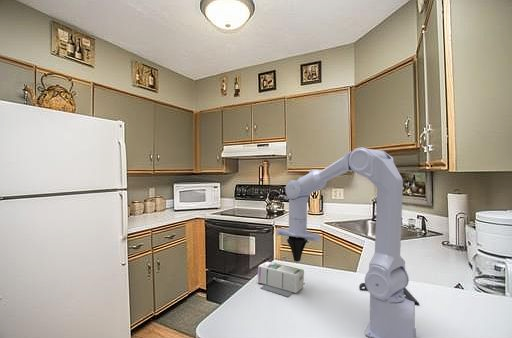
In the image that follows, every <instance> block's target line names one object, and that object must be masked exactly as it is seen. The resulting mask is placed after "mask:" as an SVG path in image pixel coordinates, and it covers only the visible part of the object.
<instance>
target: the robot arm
mask: <svg viewBox="0 0 512 338" xmlns="http://www.w3.org/2000/svg"><path fill="white" fill-rule="evenodd" d="M394 162H395V161H394V157H393V156H391V155H390V154H388V153H387V152H386V151H384V150H382V149H372V148H366V147H357V148H355V149H353V150H352V151H348V152H346V153H345V154H344V156H343V157H341V158H339V159H338V160H336V161H334V162H332V163H331V164H330V165H328V166H326V167H325V168H323V169H322V170H319V169H310V170H309V171H308V173H307V174H305V175H304V176H299V177H298V179H297V180H293V179H291V180H289V181H288V182H287V183H286V185H285V188H284V190H285V191H284V192H285V195H286V196H287V198H288V228H280V227H278V228H276V236H283V237H288V238H287V239H286V241H287V244H288V246H289V248H290V251H291V254H292V258H293V262H296V263H298V262H300V261H301V260H302V254H303V251H304V249H305V247H306V245H307V242H308V241H314V242H317V243H319V242H320V241H321V234H318V233H314V232H310V231H308V224H307V223H308V202H309V198H310V196H311V194H313V193H315V192H317V191H319V190H321V189H323V188H325V187H326V186H327V183H328V181H330V180H332V179H334V178H336V177H339V176H341V175H344V174H345V173H348V172H351V171H352V172H353V173H355V174H358V175H360V176H362V177H365V178H366V179H368V180H369V181H370V182H371V183H372V185H374V186H375V187H376V207H375V208H376V209H375V210H376V213H375V234H374V235H375V237H374V238H375V239H374V241H375V242H374V254H373V255H372V258H371V260H370V261H369V263H368V264H369V265H368V271H367V272H366V273H365V277H364V283H365V285H366V288H367V290H368V291H367V292H368V293H369V323H368V325H367V327H366V330H365V333H364V336H367V337H368V338H369V337H370V338H416V337H417V328H416V327H415V326H416V303H415V302H413V301H410V300H408V299H406V298H404V296H405V295H404V293H403V289H404V288H407V286H408V285H409V283H410V282H409V281H410V278H409V274H408V272H407V270H406V262H405V260H404V258H403V257H402V256H401V245H402V244H401V243H402V242H401V241H402V222H403V221H402V216H403V193H404V192H403V190H404V189H403V188H404V179H403V177H402V175H401V174H400V172H399V170H398V168H397V166H396V164H395V163H394Z"/></svg>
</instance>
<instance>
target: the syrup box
mask: <svg viewBox="0 0 512 338" xmlns="http://www.w3.org/2000/svg"><path fill="white" fill-rule="evenodd" d="M304 281H305V270H304V269H302V268H297V267H293V266H289V265H284V264H281V263H280V264H279V263H275V262H271V261H266V262H263V263H261V264H259V265H258V267H257V283H260V284H263V285H265V284H266V285H269V286H273V287H276V288H280V289H283V290H287V291H290V292H294V293H293V294H297V293H298V292H300V291H301V290H302V289H303V288H304V285H305V284H304V283H305V282H304ZM303 284H304V285H303Z"/></svg>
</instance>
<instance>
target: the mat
mask: <svg viewBox="0 0 512 338" xmlns="http://www.w3.org/2000/svg"><path fill="white" fill-rule="evenodd" d="M303 286H305V282H304V284H303ZM260 289H261V290H263V291H267V292H270V293H272V294H276V295H279V296H282V297H286V298H289V297H291V296H292V295H293V294H295V293H294V292H290V291H287V290H283V289H280V288H276V287H273V286H269V285H266V284H263V285H262V286H261V287H260Z"/></svg>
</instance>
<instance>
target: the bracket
mask: <svg viewBox="0 0 512 338" xmlns="http://www.w3.org/2000/svg"><path fill="white" fill-rule="evenodd" d="M358 288H359V291H362V292H363V291H364V292H369V291H368V290H367V288H366V285H365V282H362V283H360V284H359V286H358ZM403 293H404V298H406V299H408V300H410V301H413V302H415V305H417V307H419V306H420V303H419V301H417V299H416V298H415V297H414V296H413V295H412V293H411V292H410V291H409V290H408V289H407V287H405V288H404V289H403Z"/></svg>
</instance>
